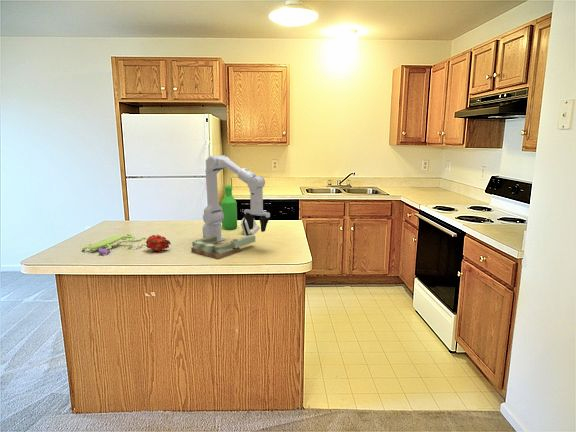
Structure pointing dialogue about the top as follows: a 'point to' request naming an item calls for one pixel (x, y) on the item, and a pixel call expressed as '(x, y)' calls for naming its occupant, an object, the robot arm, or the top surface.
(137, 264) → the top surface
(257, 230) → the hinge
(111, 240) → the figurine
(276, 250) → the top surface
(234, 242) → the hinged leg
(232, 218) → the bottle
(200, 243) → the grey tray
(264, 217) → the robot arm
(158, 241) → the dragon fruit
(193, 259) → the top surface
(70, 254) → the top surface
